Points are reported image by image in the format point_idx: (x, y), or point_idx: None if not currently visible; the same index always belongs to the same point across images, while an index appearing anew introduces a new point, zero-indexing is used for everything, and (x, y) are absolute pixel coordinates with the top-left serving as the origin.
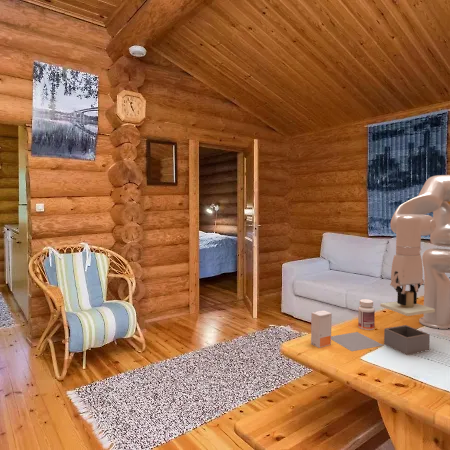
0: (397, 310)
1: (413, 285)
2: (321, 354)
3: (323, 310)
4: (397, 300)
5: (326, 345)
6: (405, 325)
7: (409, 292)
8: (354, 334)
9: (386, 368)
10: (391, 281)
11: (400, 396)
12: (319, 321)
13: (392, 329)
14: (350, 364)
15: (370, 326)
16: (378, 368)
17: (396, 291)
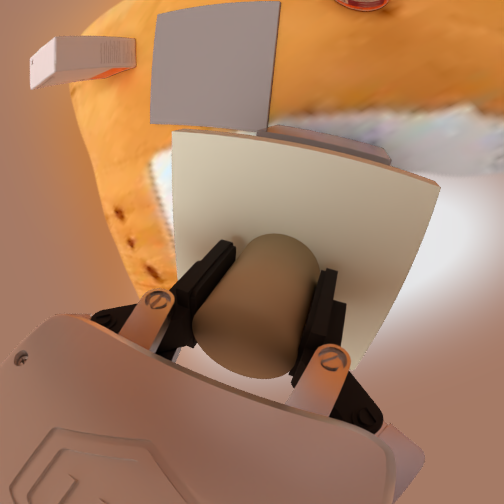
0: (179, 263)
1: (334, 409)
2: (98, 107)
3: (52, 40)
4: (214, 246)
5: (121, 71)
6: (383, 161)
7: (245, 359)
8: (249, 16)
9: (169, 226)
10: (54, 317)
11: (136, 286)
12: (45, 86)
13: None
14: (119, 174)
15: (349, 3)
16: (155, 217)
17: (150, 294)
